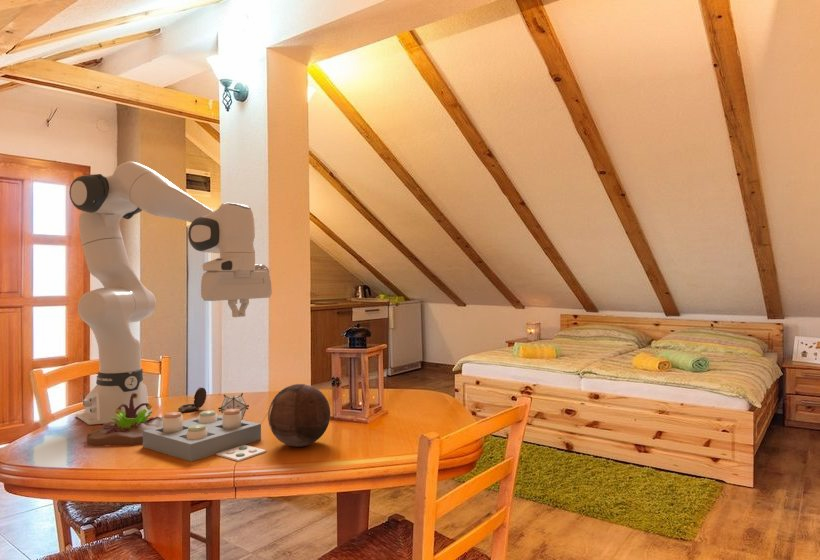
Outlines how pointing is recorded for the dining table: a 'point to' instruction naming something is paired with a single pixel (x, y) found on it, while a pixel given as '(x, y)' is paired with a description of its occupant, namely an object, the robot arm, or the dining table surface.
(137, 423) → the plant
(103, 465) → the dining table surface
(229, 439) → the grey grid tray
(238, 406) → the wireframe polyhedron
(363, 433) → the dining table surface
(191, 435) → the button
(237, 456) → the card
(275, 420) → the wooden sphere
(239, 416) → the button
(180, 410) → the compass
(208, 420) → the button
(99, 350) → the robot arm
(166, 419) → the button
